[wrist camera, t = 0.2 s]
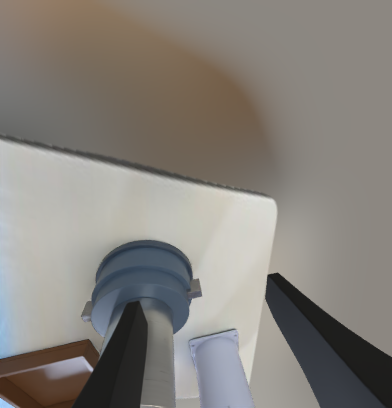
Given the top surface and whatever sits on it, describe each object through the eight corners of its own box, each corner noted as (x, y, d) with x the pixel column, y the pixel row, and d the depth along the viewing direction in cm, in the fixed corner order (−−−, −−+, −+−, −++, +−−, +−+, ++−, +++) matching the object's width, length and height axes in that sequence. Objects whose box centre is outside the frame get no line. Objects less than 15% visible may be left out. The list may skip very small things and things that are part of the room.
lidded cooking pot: (201, 295, 25) (208, 334, 21) (110, 315, 24) (98, 360, 20) (190, 230, 20) (197, 263, 16) (76, 252, 19) (49, 293, 15)
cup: (176, 328, 19) (182, 429, 13) (121, 340, 19) (99, 452, 13) (166, 291, 17) (166, 397, 10) (101, 305, 16) (61, 424, 10)
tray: (121, 385, 33) (119, 401, 31) (44, 405, 32) (37, 422, 30) (88, 339, 26) (83, 355, 24) (-12, 361, 25) (-26, 380, 23)
